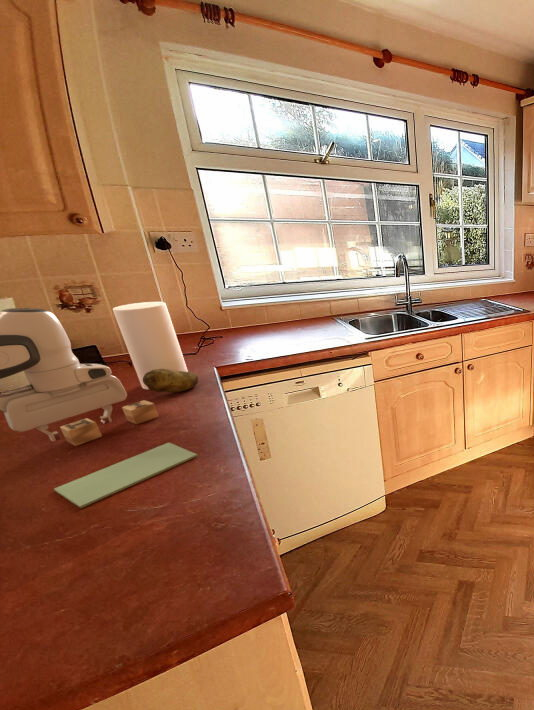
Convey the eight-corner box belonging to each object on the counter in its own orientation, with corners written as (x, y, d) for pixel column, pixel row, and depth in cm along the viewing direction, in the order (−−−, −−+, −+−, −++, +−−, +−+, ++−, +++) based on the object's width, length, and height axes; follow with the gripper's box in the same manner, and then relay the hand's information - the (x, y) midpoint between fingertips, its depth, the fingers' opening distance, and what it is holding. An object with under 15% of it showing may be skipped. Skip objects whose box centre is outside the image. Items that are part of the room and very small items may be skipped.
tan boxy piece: (136, 424, 109) (130, 410, 107) (127, 420, 111) (121, 406, 110) (158, 416, 113) (153, 402, 111) (149, 413, 115) (144, 399, 114)
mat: (80, 508, 78) (79, 506, 77) (54, 490, 83) (53, 488, 83) (197, 456, 94) (197, 454, 94) (169, 444, 99) (168, 442, 99)
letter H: (75, 446, 99) (68, 430, 98) (66, 441, 101) (59, 426, 100) (102, 436, 103) (95, 421, 102) (93, 432, 105) (86, 417, 104)
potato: (202, 390, 130) (194, 365, 127) (149, 401, 122) (139, 376, 119) (199, 382, 136) (192, 359, 133) (148, 393, 128) (139, 368, 125)
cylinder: (189, 372, 145) (165, 299, 136) (190, 383, 136) (164, 305, 126) (143, 381, 138) (114, 305, 129) (140, 392, 129) (109, 311, 119)
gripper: (-5, 397, 86) (27, 455, 92) (118, 365, 103) (138, 416, 108) (-15, 392, 89) (16, 448, 95) (106, 362, 106) (127, 411, 111)
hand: (82, 431), depth 102 cm, fingers open, 8 cm apart
